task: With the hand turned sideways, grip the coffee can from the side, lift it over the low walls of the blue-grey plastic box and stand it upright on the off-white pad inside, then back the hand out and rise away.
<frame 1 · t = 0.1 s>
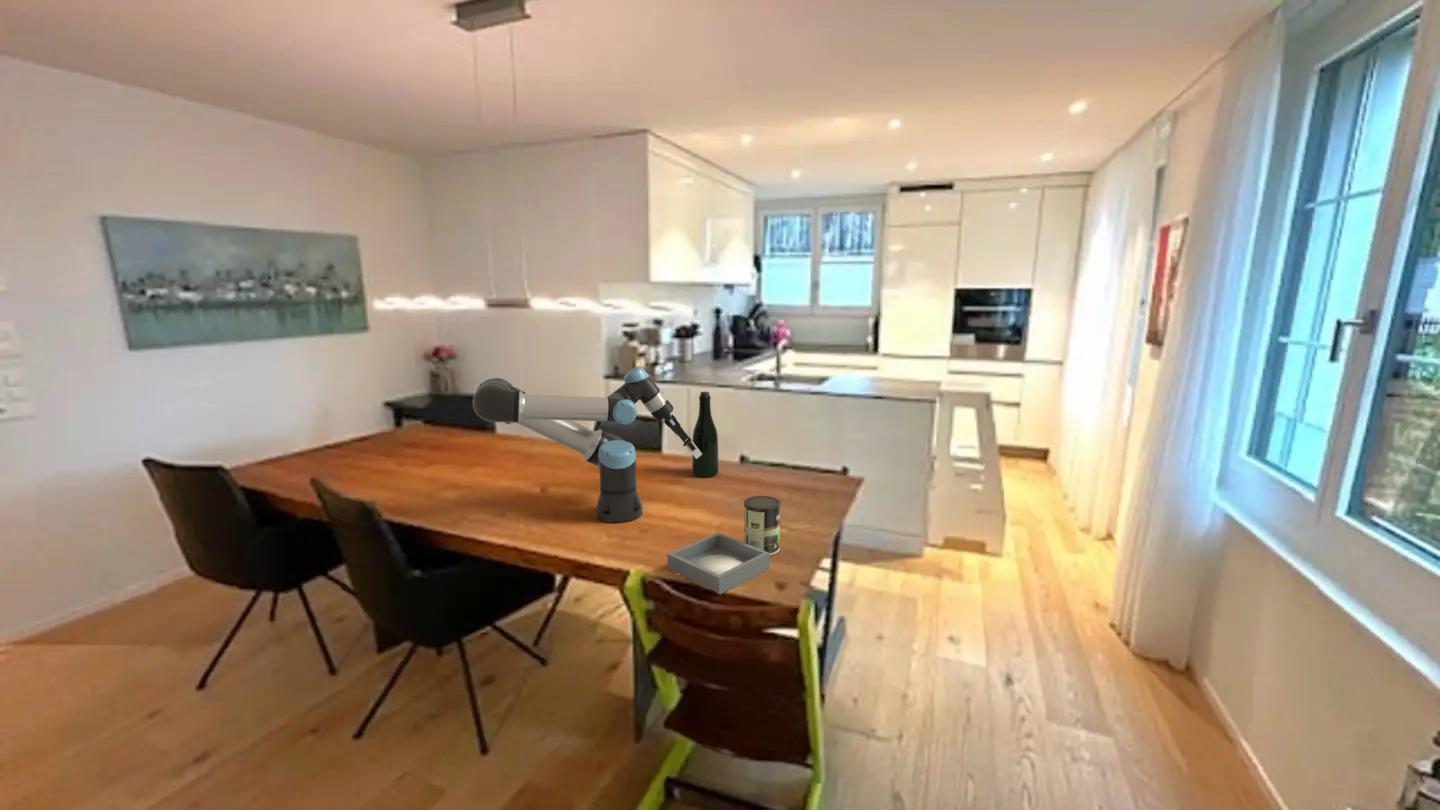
hand: (694, 451, 215), 15 cm above the table, tool tilted 35°, fingers open, 13 cm apart
beer bottle: (705, 474, 238), on the table
walled box: (718, 569, 160), on the table
coffee can: (761, 549, 172), on the table
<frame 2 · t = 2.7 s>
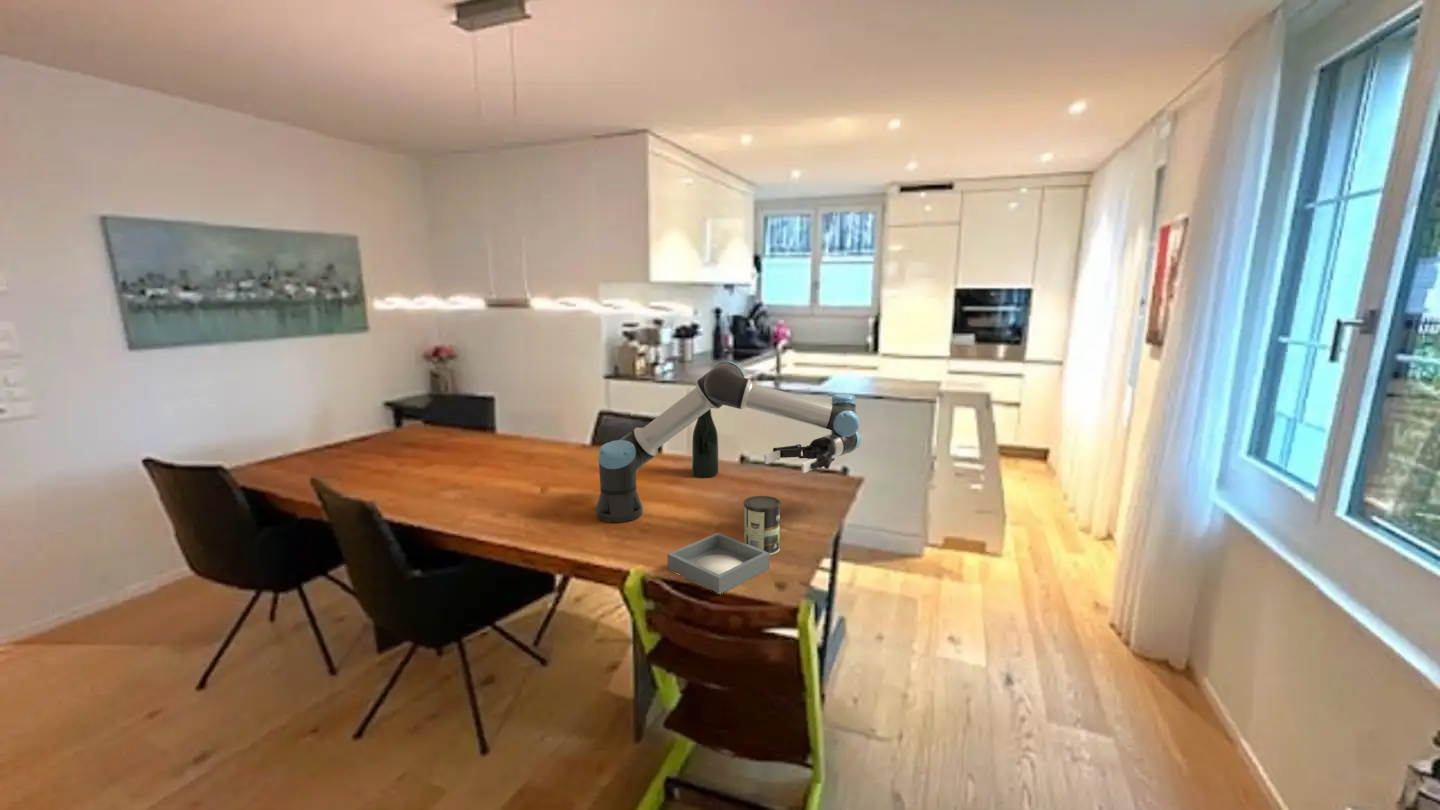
hand: (783, 463, 174), 23 cm above the table, tool horizontal, fingers open, 13 cm apart
nothing on the table moved.
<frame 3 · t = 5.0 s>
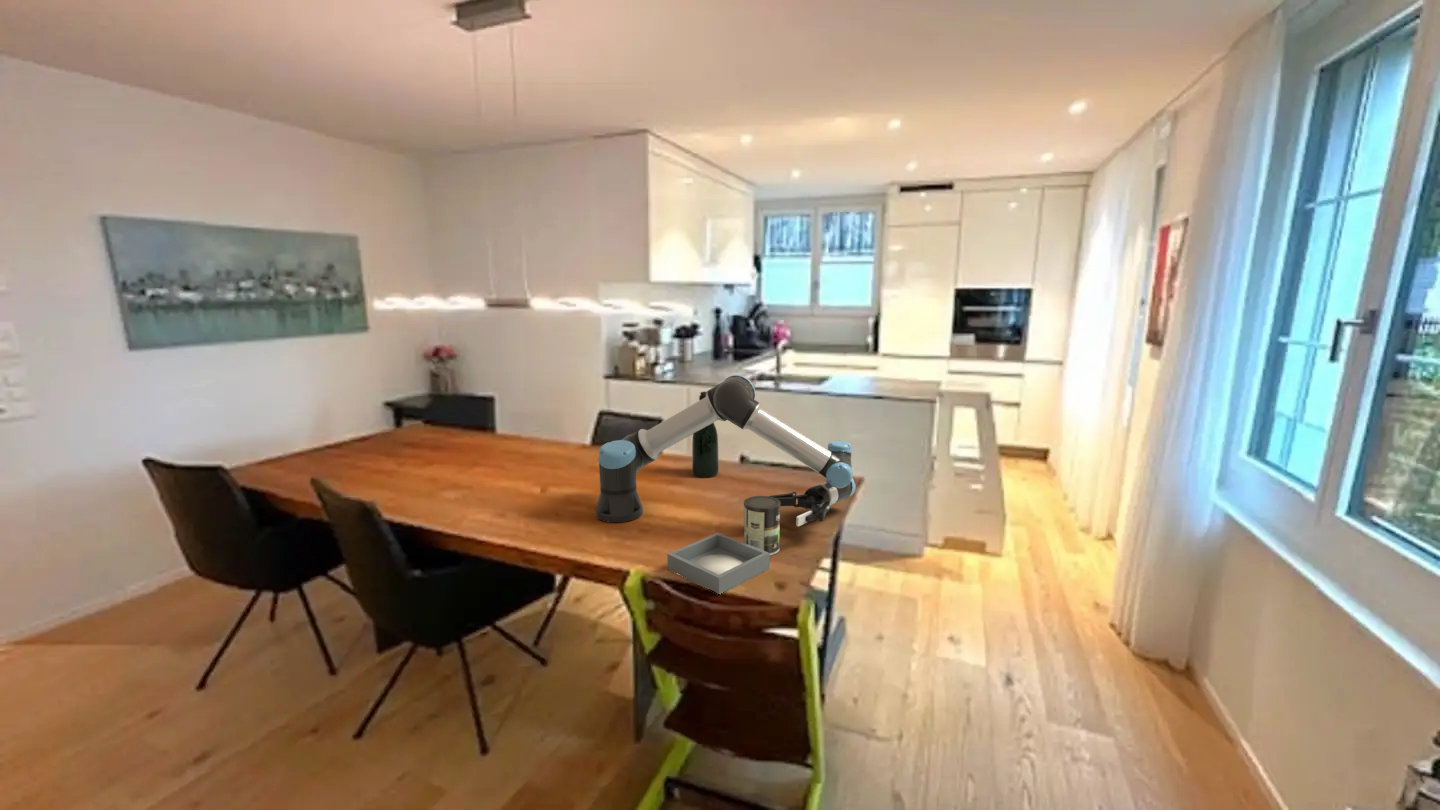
hand: (778, 515, 175), 8 cm above the table, tool horizontal, fingers open, 13 cm apart
nothing on the table moved.
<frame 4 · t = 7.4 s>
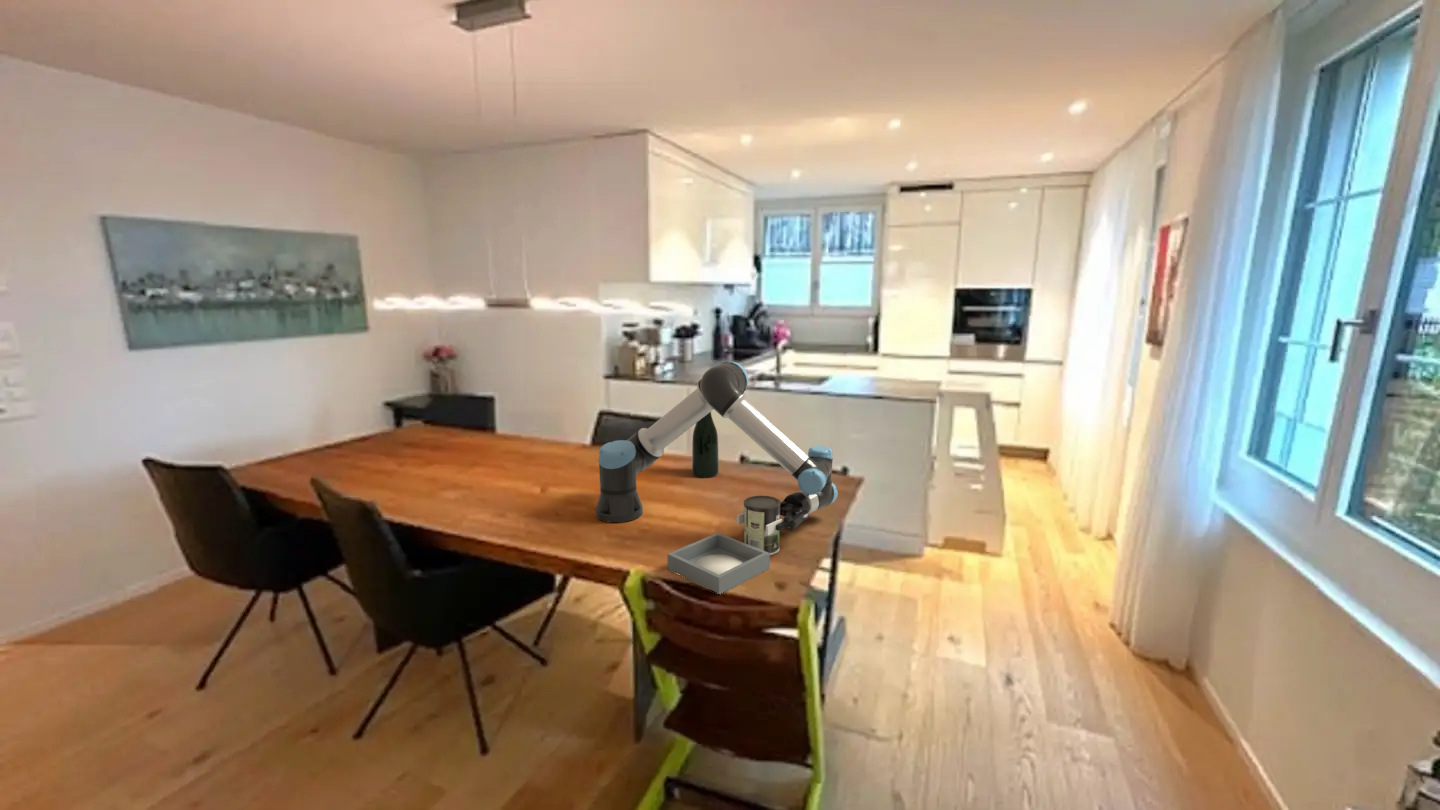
hand: (751, 525, 167), 8 cm above the table, tool horizontal, fingers closed on coffee can, 10 cm apart
coffee can: (761, 549, 172), on the table, touching gripper
everything else where it was.
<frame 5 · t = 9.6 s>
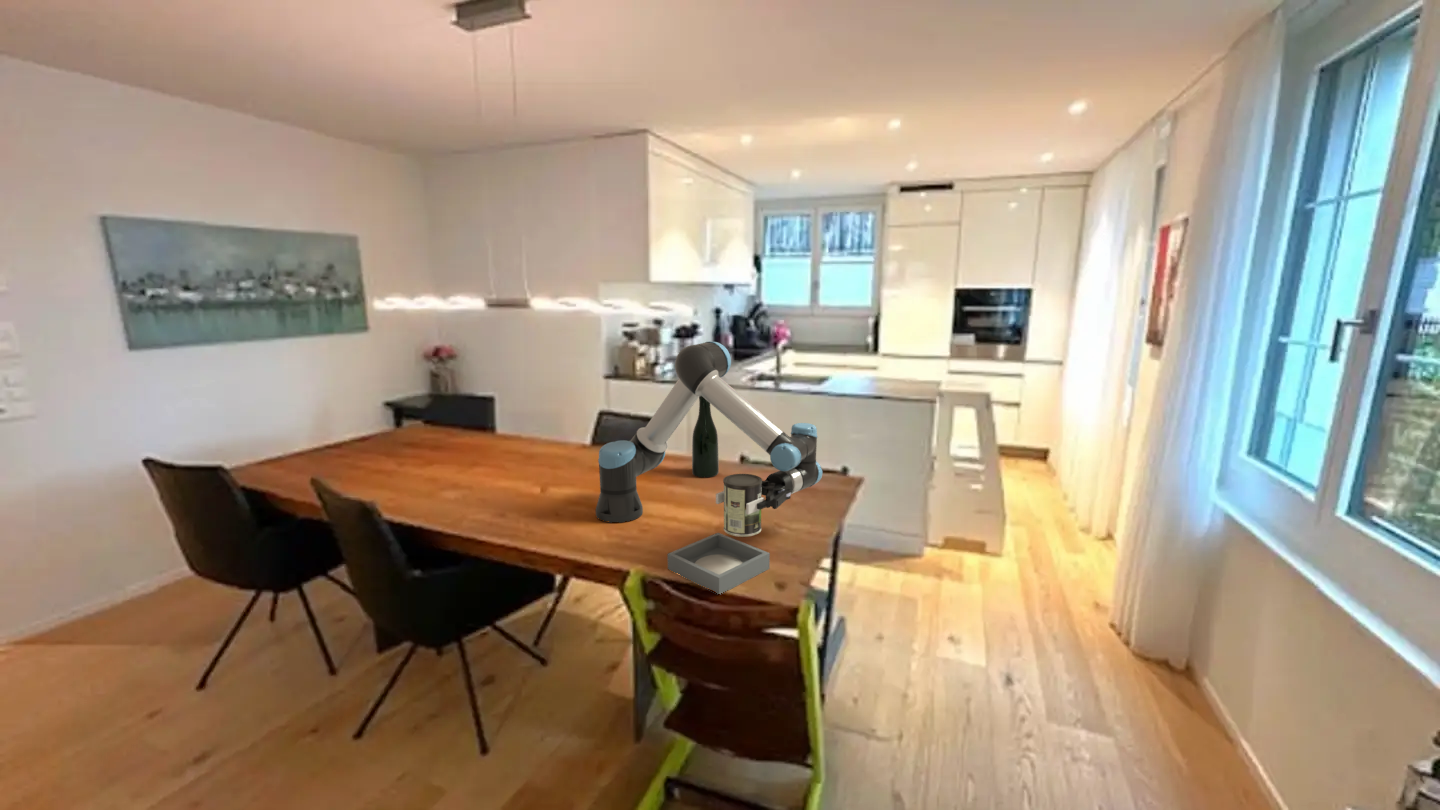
hand: (731, 503, 158), 18 cm above the table, tool horizontal, fingers closed on coffee can, 10 cm apart
coffee can: (742, 529, 163), point 9 cm above the table, touching gripper
everything else where it was.
when the fingers open (11 cm above the table, at t = 12.3 s): coffee can drops 1 cm, resting on walled box.
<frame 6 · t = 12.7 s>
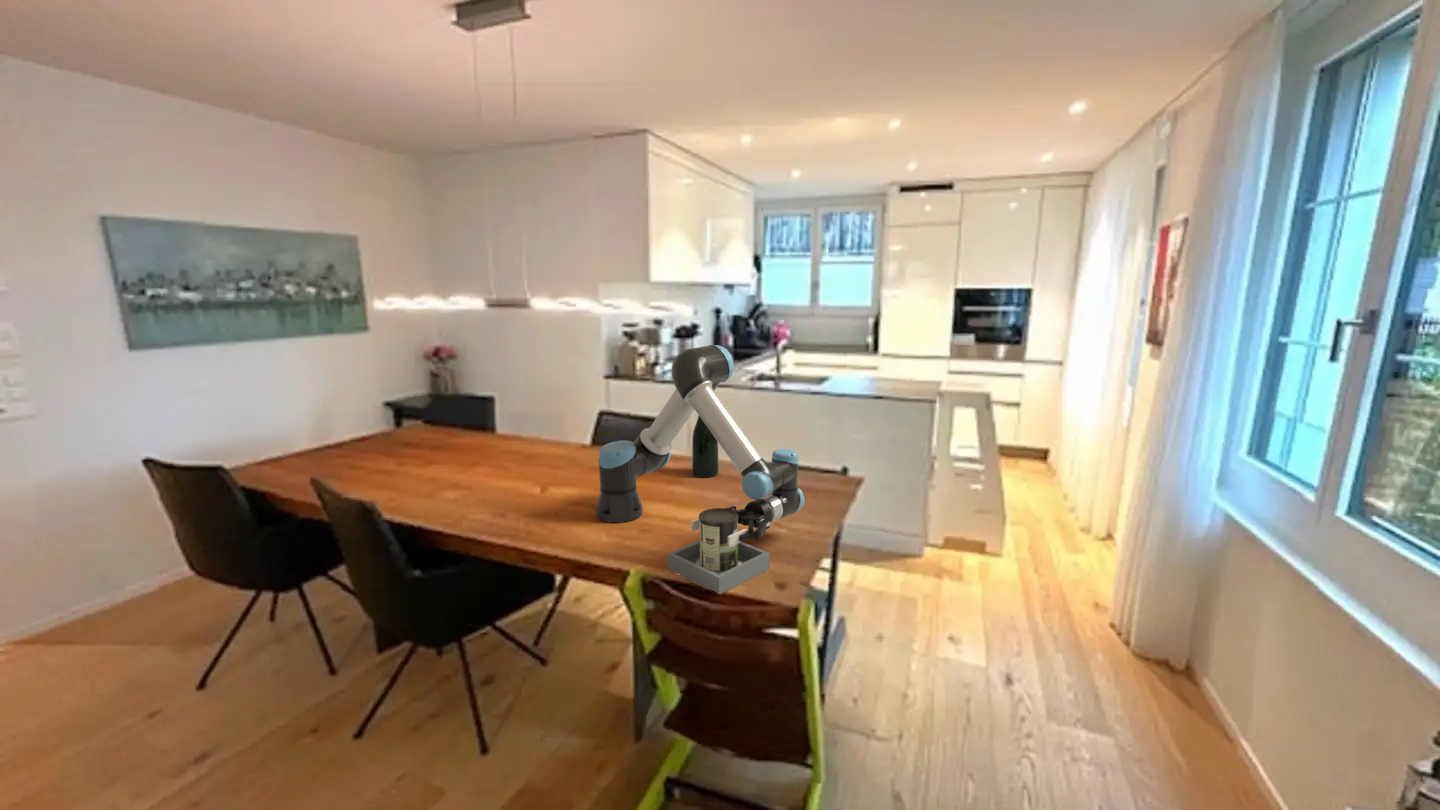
hand: (709, 534, 155), 11 cm above the table, tool horizontal, fingers open, 13 cm apart
coffee can: (718, 566, 159), point 1 cm above the table, touching walled box
everything else where it was.
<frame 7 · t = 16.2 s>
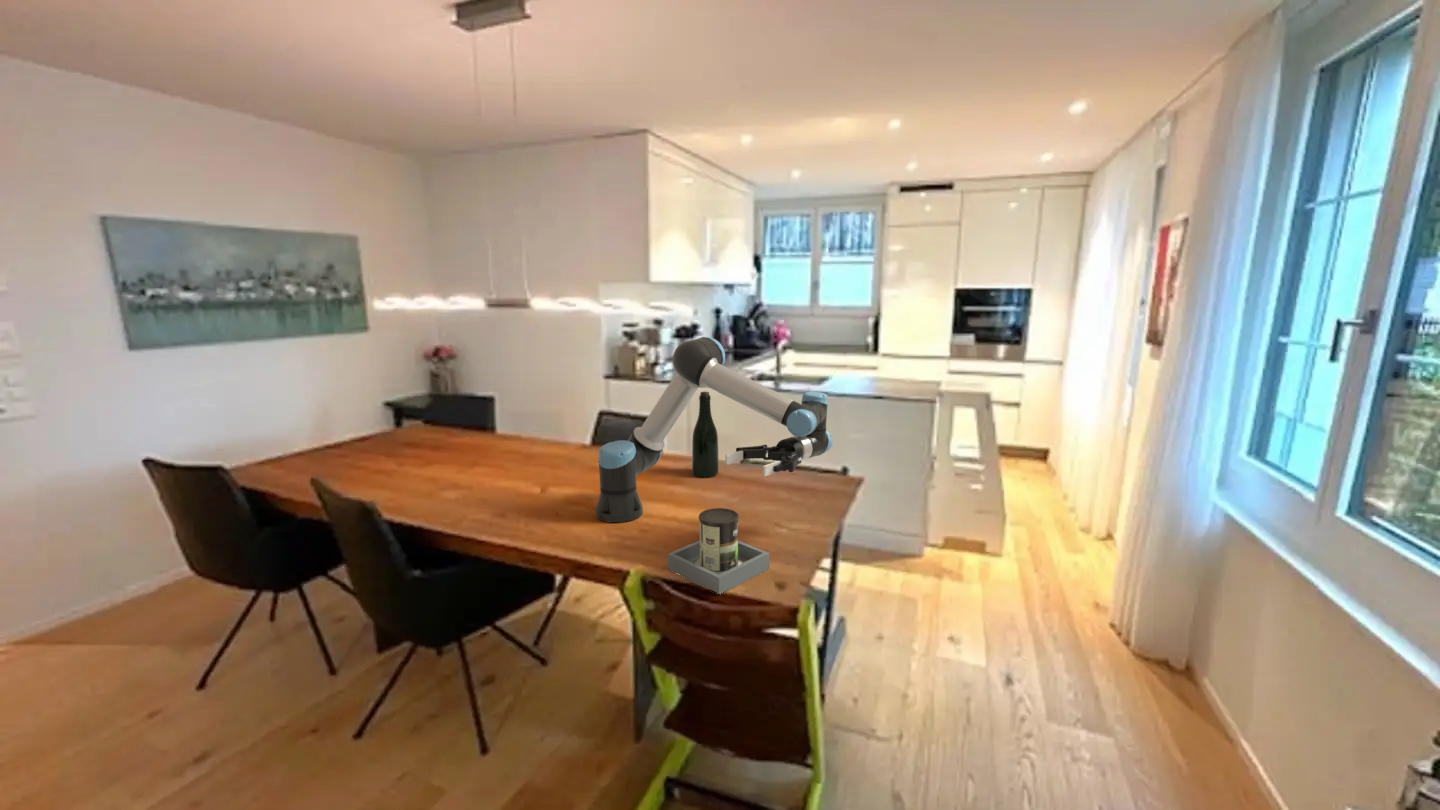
hand: (744, 465, 161), 26 cm above the table, tool horizontal, fingers open, 13 cm apart
nothing on the table moved.
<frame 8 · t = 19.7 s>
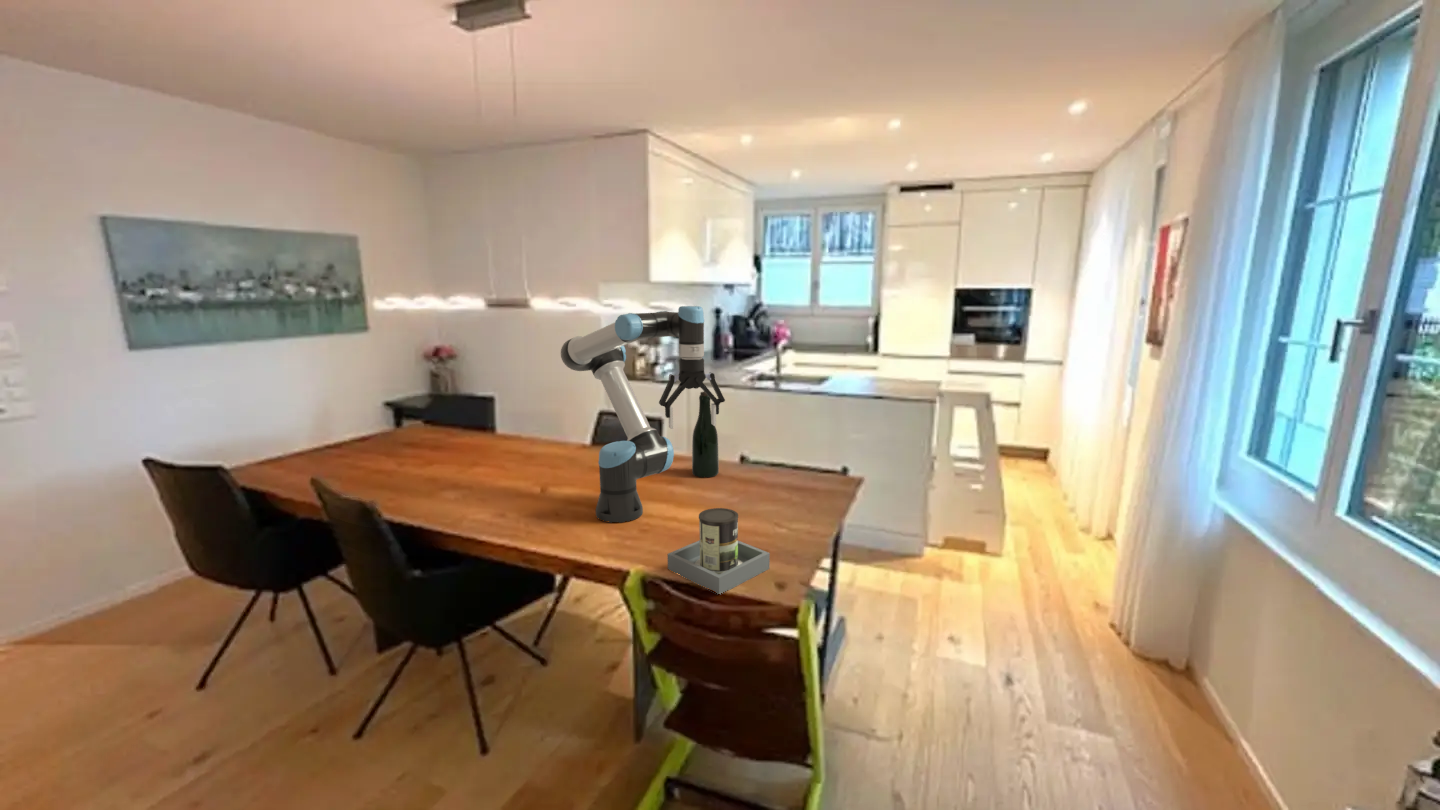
hand: (692, 426, 186), 31 cm above the table, tool pointing down, fingers open, 13 cm apart
nothing on the table moved.
at the end: coffee can inside the target area on the walled box (0.1 cm from its centre), point 1.0 cm above the walled box's base; coffee can tilted 1°; the gripper is holding nothing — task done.
